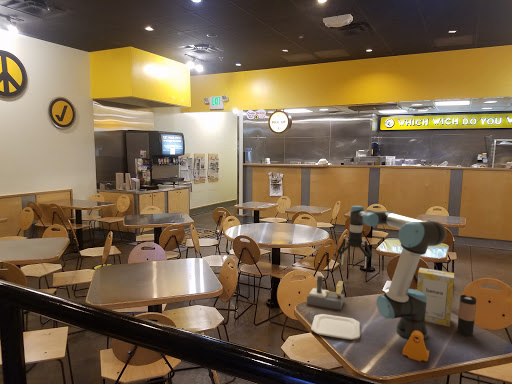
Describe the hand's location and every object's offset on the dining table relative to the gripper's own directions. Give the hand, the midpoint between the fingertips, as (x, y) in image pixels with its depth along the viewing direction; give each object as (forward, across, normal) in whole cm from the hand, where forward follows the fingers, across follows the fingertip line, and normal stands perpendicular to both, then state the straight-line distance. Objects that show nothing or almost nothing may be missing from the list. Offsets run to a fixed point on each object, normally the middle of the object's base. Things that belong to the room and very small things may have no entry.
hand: (353, 266), depth 222 cm
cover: (+22, +20, -2) cm, 30 cm away
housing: (+27, +16, -2) cm, 31 cm away
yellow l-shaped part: (+22, +11, -2) cm, 25 cm away
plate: (+27, +4, +31) cm, 41 cm away
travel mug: (+27, -61, +4) cm, 67 cm away
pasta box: (+27, -46, -8) cm, 54 cm away
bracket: (+27, -36, +42) cm, 61 cm away
